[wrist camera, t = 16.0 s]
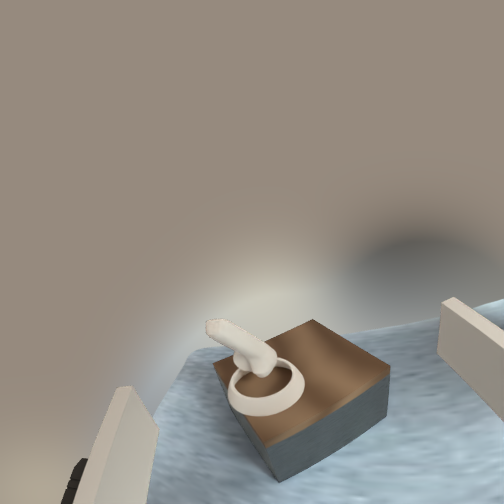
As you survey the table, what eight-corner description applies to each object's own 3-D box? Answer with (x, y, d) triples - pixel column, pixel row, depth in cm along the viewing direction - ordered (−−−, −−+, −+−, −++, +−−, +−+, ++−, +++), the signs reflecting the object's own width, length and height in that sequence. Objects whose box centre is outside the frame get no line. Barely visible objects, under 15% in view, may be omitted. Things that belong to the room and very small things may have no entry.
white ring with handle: (159, 400, 20) (173, 322, 25) (245, 421, 28) (249, 362, 32) (235, 402, 17) (243, 306, 21) (310, 419, 25) (310, 353, 29)
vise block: (319, 365, 40) (312, 319, 38) (386, 415, 27) (390, 365, 25) (230, 408, 35) (212, 363, 33) (279, 482, 22) (263, 442, 20)
